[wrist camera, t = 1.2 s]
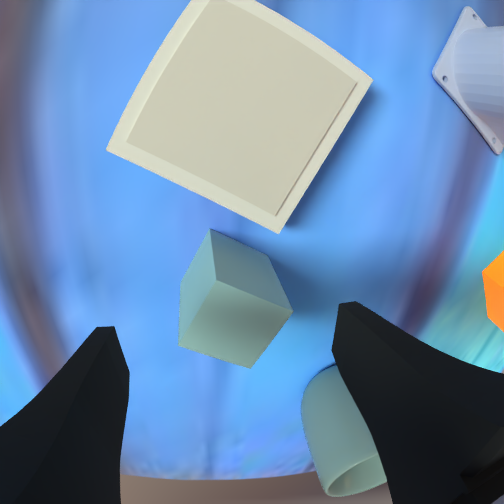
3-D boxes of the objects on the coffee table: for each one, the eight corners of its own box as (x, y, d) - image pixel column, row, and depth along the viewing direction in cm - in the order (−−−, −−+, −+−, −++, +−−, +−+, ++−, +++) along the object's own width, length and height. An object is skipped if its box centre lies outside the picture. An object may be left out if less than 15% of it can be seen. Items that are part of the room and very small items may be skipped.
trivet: (352, 81, 17) (374, 79, 14) (268, 218, 20) (279, 235, 17) (206, -7, 13) (208, -23, 11) (117, 144, 16) (105, 150, 14)
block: (267, 255, 20) (293, 311, 15) (236, 304, 21) (250, 368, 16) (209, 228, 19) (216, 279, 14) (180, 282, 20) (178, 345, 15)
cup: (302, 352, 24) (348, 458, 15) (384, 346, 26) (441, 431, 17) (282, 412, 27) (311, 504, 19) (355, 403, 29) (394, 482, 20)
